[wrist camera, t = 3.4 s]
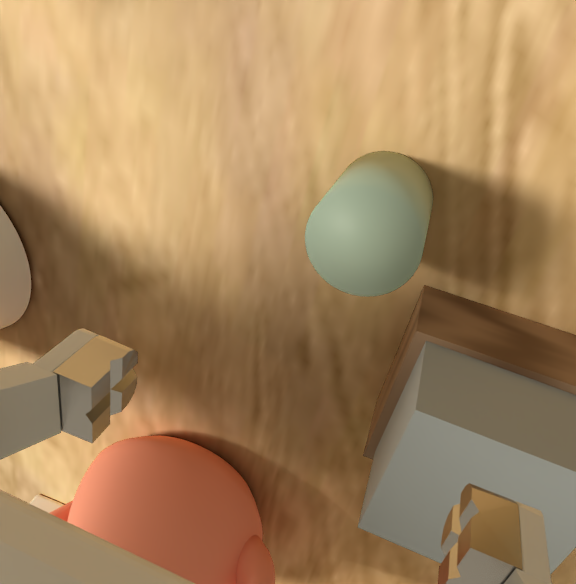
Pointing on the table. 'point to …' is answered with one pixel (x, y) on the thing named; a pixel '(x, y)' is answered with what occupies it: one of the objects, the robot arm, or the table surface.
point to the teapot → (174, 510)
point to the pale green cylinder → (371, 225)
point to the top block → (472, 452)
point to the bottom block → (475, 348)
